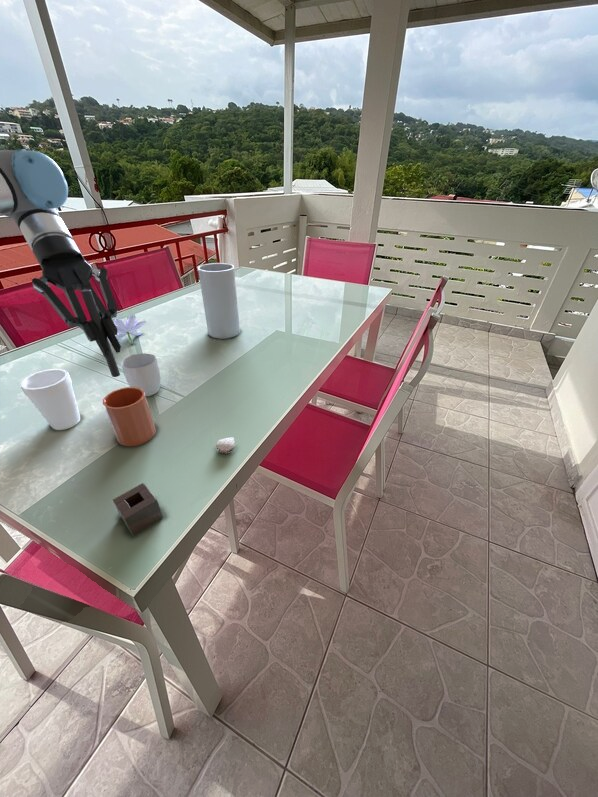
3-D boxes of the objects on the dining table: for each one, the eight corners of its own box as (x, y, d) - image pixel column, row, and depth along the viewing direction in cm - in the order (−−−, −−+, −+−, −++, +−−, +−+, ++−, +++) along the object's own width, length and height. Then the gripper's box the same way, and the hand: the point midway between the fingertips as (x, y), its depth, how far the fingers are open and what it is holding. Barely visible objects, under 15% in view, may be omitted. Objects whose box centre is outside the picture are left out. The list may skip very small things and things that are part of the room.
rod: (110, 376, 70) (78, 291, 60) (116, 372, 71) (86, 288, 61) (116, 377, 69) (85, 292, 59) (121, 374, 71) (92, 289, 60)
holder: (120, 516, 61) (112, 499, 58) (149, 499, 65) (143, 482, 62) (133, 536, 58) (125, 519, 55) (163, 517, 61) (157, 499, 59)
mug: (158, 399, 93) (150, 368, 87) (126, 399, 92) (115, 368, 87) (171, 376, 103) (164, 347, 97) (141, 376, 103) (133, 347, 97)
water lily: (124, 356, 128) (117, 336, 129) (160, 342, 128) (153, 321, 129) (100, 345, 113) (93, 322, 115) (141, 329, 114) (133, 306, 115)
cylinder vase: (214, 342, 124) (204, 273, 110) (204, 330, 133) (193, 265, 119) (245, 335, 129) (239, 268, 115) (233, 324, 138) (226, 261, 124)
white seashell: (213, 452, 76) (211, 444, 74) (225, 439, 79) (224, 431, 78) (229, 457, 74) (228, 449, 73) (241, 444, 78) (240, 436, 77)
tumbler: (109, 440, 78) (93, 403, 72) (136, 420, 85) (123, 384, 79) (138, 450, 76) (124, 412, 70) (163, 428, 82) (152, 391, 76)
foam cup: (94, 419, 85) (76, 375, 78) (57, 439, 79) (32, 394, 71) (74, 407, 89) (55, 365, 82) (37, 425, 83) (12, 381, 75)
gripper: (94, 253, 71) (146, 348, 71) (12, 264, 63) (72, 371, 63) (94, 229, 65) (151, 332, 65) (3, 237, 57) (69, 356, 57)
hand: (112, 351), depth 64 cm, fingers closed on rod, 1 cm apart
